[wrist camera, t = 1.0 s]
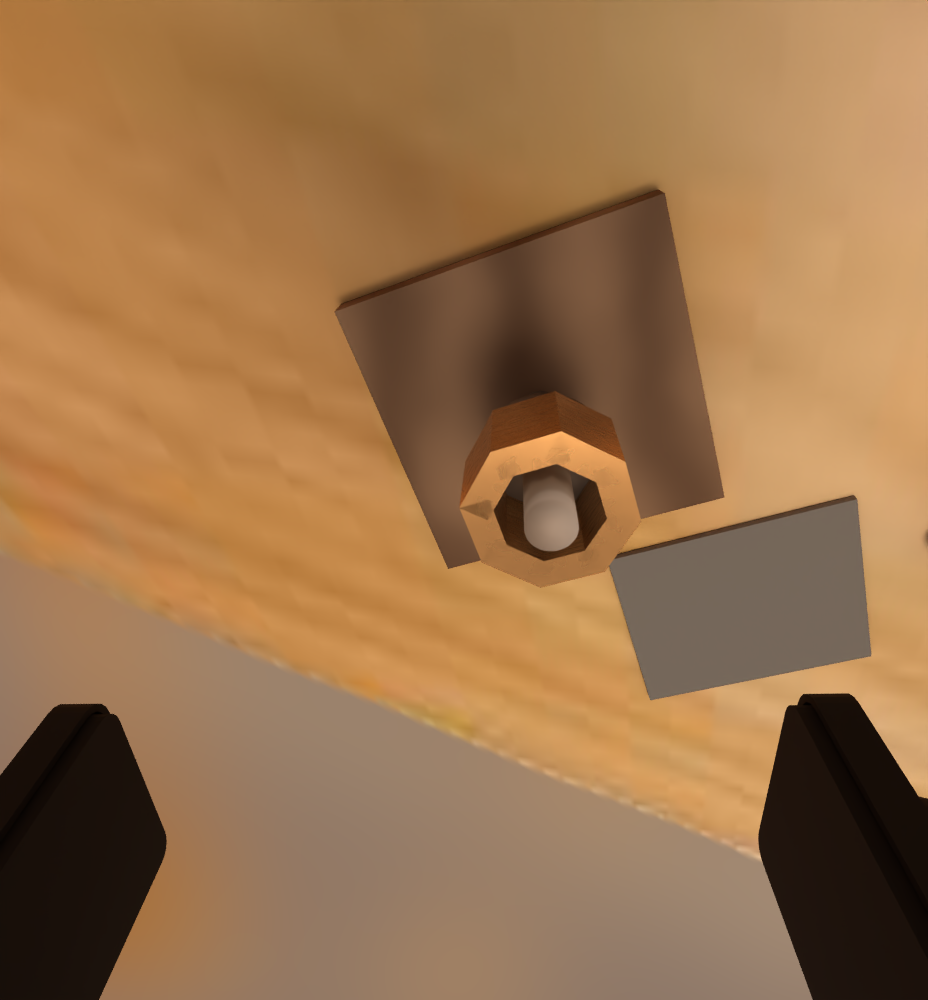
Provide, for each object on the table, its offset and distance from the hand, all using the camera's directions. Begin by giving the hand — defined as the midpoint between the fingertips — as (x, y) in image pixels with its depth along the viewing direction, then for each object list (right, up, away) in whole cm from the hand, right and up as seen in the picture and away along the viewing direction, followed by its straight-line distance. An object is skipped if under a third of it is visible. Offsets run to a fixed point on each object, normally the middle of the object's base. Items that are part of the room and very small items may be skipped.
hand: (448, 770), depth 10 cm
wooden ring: (+4, +5, +20) cm, 21 cm away
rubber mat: (+17, -3, +33) cm, 37 cm away
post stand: (+4, +9, +27) cm, 29 cm away
